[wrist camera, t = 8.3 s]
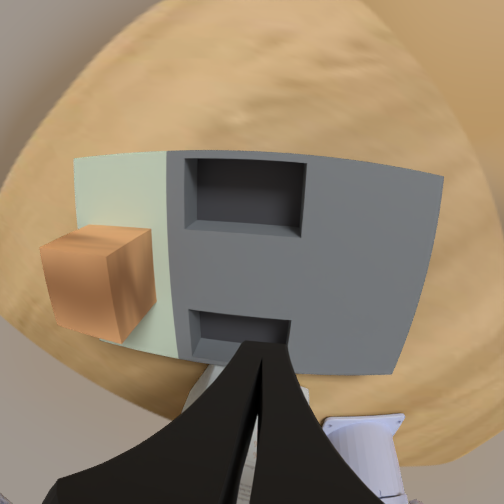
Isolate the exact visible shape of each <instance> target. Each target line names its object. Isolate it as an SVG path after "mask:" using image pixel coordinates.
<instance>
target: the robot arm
mask: <svg viewBox="0 0 504 504" xmlns="http://www.w3.org/2000/svg"><path fill="white" fill-rule="evenodd" d="M257 415H258V424H257V455H256V464H255V471H254V477H253V483H252V489H251V495H250V501H249V504H408V500H407V495H406V494H405V493H404V487H403V483H402V477H401V473H400V468H399V464H398V459H397V455H396V451H395V446H394V442H393V438H392V437H393V435H394V434H395V432H396V431H397V429H398V428H399V426H400V425H401V423H402V422H403V420H404V418H405V416H404V414H403V413H399V414H389V415H375V416H356V417H328V418H326V419H325V421H324V423H323V426H322V427H321V426H320V424H319V422H318V421H317V419H316V417H315V415H314V413H313V412H312V410H311V408H310V406H309V404H308V402H307V400H306V398H305V396H304V393H303V391H302V389H301V387H300V384H299V382H298V380H297V377H296V375H295V372H294V369H293V366H292V363H291V359H290V356H289V351H288V347H287V346H286V344H282V343H269V342H258V341H247V340H245V341H243V342H242V343H241V345H240V346H239V348H238V350H237V351H236V353H235V354H234V356H233V357H232V359H231V360H230V361H229V363H228V364H227V366H226V367H225V368H224V369H223V371H222V372H221V373H220V374H219V375H218V377H217V378H216V379H215V380H214V382H213V383H212V384H211V385H210V386H209V387H208V388H207V389H206V390H205V391H204V392H203V393H202V394H201V395H200V396H199V397H198V398H197V399H196V400H195V402H194V403H192V404H191V405H190V406H189V407H188V408H187V409H186V410H185V411H184V412H183V413H181V414H180V415H179V416H178V417H177V418H175V419H174V420H173V421H172V422H170V423H169V424H168V425H167V426H165V427H164V428H163V429H161V430H160V431H158V432H157V433H155V434H154V435H153V436H151V437H150V438H148V439H147V440H145V441H143V442H142V443H140V444H139V445H137V446H136V447H133V448H132V449H130V450H128V451H126V452H124V453H122V454H120V455H118V456H116V457H114V458H112V459H110V460H109V461H106V462H104V463H102V464H99V465H97V466H94V467H92V468H89V469H87V470H83V471H81V472H78V473H75V474H72V475H69V476H66V477H63V478H59V479H58V480H57V481H56V483H55V484H54V486H53V487H52V488H51V489H50V491H49V492H48V494H47V496H46V498H45V499H44V501H43V503H42V504H236V503H237V498H238V492H239V486H240V481H241V476H242V472H243V468H244V464H245V461H246V457H247V453H248V450H249V446H250V442H251V439H252V435H253V431H254V427H255V423H256V419H257ZM0 504H12V503H11V502H10V501H9V500H8V499H6V498H5V497H4V496H3V495H2V494H1V493H0ZM410 504H423V503H422V502H420V501H417V499H414V500H412V501H410Z"/></svg>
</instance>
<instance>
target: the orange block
mask: <svg viewBox="0 0 504 504" xmlns="http://www.w3.org/2000/svg"><path fill="white" fill-rule="evenodd" d="M40 254H41V260H42V265H43V270H44V275H45V279H46V284H47V288H48V292H49V296H50V300H51V304H52V307H53V311H54V314H55V318H56V321H57V324H58V325H59V326H62V327H65V328H68V329H71V330H74V331H78V332H81V333H84V334H87V335H90V336H94V337H97V338H101V339H104V340H108V341H111V342H115V343H119V344H122V343H123V342H124V341H125V340H126V338H127V337H128V336H129V335H130V333H131V332H132V331H133V330H134V328H135V327H136V326H137V325H138V323H139V322H140V321H141V320H142V319H143V317H144V316H145V315H146V314H147V312H148V311H149V310H150V309H151V308H152V306H153V305H154V304H155V303H156V302H157V298H156V288H155V277H154V265H153V251H152V232H151V229H150V228H136V227H121V226H106V225H90V224H89V225H87V226H84V227H82V228H80V229H78V230H75V231H73V232H71V233H69V234H67V235H65V236H62V237H60V238H58V239H56V240H54V241H52V242H50V243H48V244H46V245H44V246H42V247H40Z"/></svg>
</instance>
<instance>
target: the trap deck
mask: <svg viewBox="0 0 504 504" xmlns="http://www.w3.org/2000/svg"><path fill="white" fill-rule="evenodd" d="M443 181H444V176H439V175H435V174H430V173H426V172H421V171H416V170H411V169H406V168H400V167H395V166H389V165H383V164H377V163H370V162H363V161H356V160H349V159H341V158H333V157H324V156H314V155H303V154H291V153H276V152H258V151H228V150H184V151H154V152H137V153H123V154H111V155H101V156H91V157H83V158H75V159H74V186H75V203H76V215H77V225H78V229H80V228H82V227H84V226H87V225H89V224H90V225H106V226H121V227H136V228H150V229H151V232H152V251H153V265H154V277H155V288H156V298H157V302H156V303H155V304H154V305H153V306H152V308H151V309H150V310H149V311H148V312H147V314H146V315H145V316H144V317H143V319H142V320H141V321H140V322H139V323H138V325H137V326H136V327H135V328H134V330H133V331H132V332H131V333H130V335H129V336H128V337H127V338H126V340H125V341H124V342H123V343H122V344H119V343H115V342H111V341H108V340H104V339H101V338H99V339H100V341H104V342H108V343H111V344H115V345H119V346H123V347H127V348H131V349H135V350H140V351H144V352H148V353H153V354H158V355H162V356H167V357H172V358H178V359H183V360H189V361H194V362H200V363H207V364H213V365H220V366H227V364H228V363H229V361H230V360H231V359H232V357H233V356H234V354H235V353H236V351H237V350H238V348H239V346H240V345H241V343H242V342H243V341H245V340H247V341H258V342H269V343H282V344H286V346H287V347H288V351H289V356H290V359H291V363H292V366H293V369H294V372H295V373H299V374H319V375H388V374H392V373H393V370H394V368H395V366H396V363H397V361H398V358H399V356H400V353H401V351H402V348H403V346H404V343H405V340H406V338H407V335H408V332H409V329H410V326H411V324H412V321H413V318H414V315H415V312H416V308H417V305H418V302H419V299H420V295H421V292H422V288H423V285H424V281H425V277H426V274H427V270H428V266H429V261H430V257H431V253H432V248H433V244H434V239H435V234H436V228H437V223H438V217H439V211H440V204H441V197H442V189H443Z"/></svg>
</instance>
